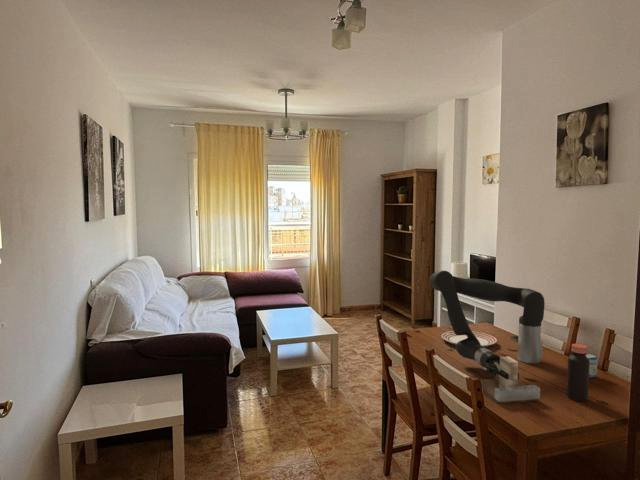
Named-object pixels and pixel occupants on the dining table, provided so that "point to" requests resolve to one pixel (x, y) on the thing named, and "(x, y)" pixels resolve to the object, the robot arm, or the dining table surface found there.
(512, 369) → the cream tall block
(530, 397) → the metal rail
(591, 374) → the medicine box
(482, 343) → the dinner plate
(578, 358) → the bottle
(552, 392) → the dining table surface
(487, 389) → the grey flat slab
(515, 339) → the phone
